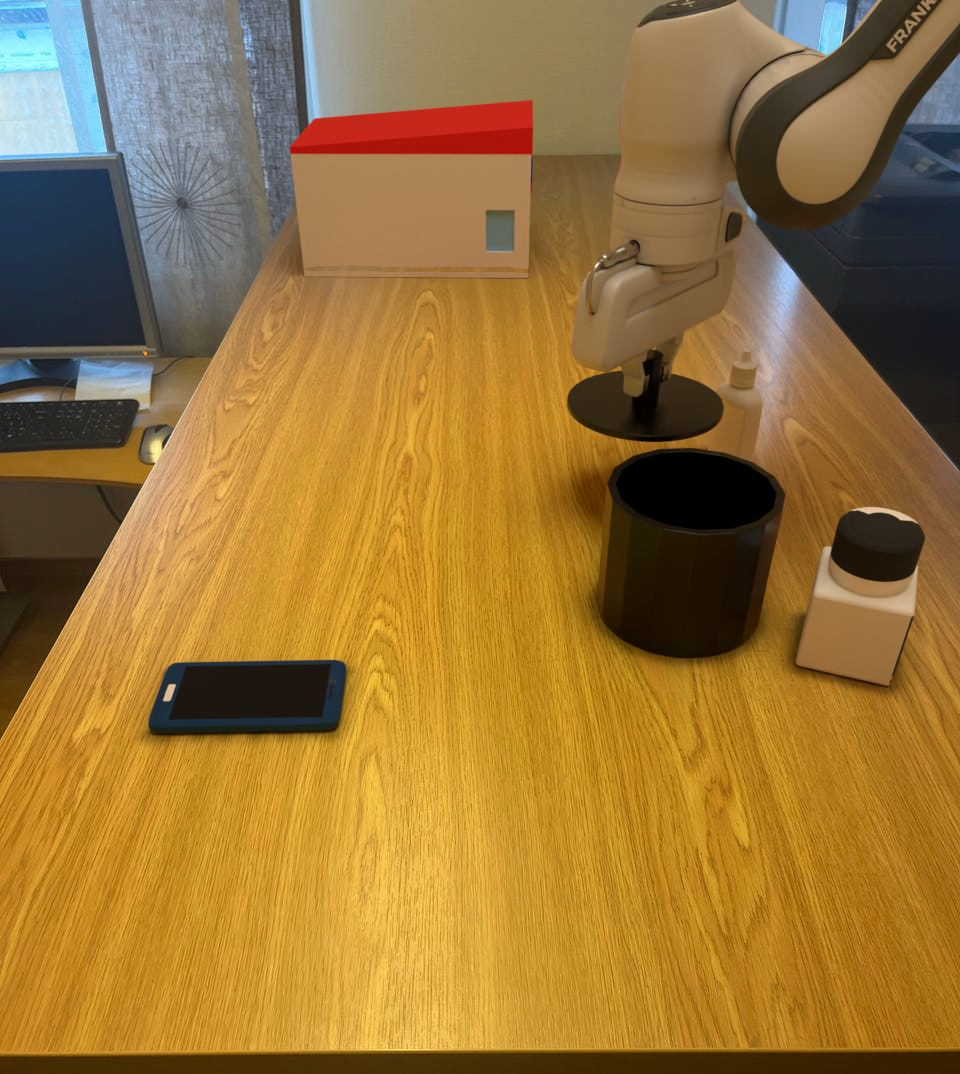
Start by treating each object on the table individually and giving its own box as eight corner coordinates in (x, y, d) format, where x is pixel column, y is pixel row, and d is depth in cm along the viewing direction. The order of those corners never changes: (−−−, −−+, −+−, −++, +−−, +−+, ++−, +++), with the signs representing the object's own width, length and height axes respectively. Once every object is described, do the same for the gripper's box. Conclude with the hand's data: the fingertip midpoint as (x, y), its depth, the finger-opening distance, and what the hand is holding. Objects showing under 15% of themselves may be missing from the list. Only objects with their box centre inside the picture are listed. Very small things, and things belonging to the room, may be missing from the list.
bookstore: (530, 278, 150) (534, 127, 137) (304, 276, 151) (287, 126, 138) (530, 238, 166) (534, 100, 153) (326, 237, 167) (312, 99, 154)
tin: (787, 602, 83) (815, 483, 76) (705, 680, 75) (728, 555, 68) (654, 547, 90) (668, 432, 83) (566, 612, 82) (573, 492, 75)
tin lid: (750, 409, 92) (761, 350, 88) (667, 464, 83) (675, 402, 80) (623, 369, 99) (628, 313, 96) (535, 416, 91) (537, 357, 87)
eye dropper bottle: (709, 472, 101) (727, 360, 94) (705, 447, 105) (722, 339, 98) (752, 474, 101) (773, 362, 93) (746, 449, 105) (766, 340, 98)
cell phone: (169, 669, 76) (168, 661, 76) (348, 666, 76) (347, 658, 76) (146, 734, 70) (144, 726, 70) (339, 730, 71) (338, 723, 70)
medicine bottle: (890, 688, 74) (935, 556, 67) (794, 666, 76) (827, 536, 69) (895, 635, 79) (937, 506, 72) (805, 615, 81) (837, 489, 74)
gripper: (624, 267, 73) (609, 435, 82) (757, 210, 85) (732, 362, 94) (557, 250, 77) (550, 414, 85) (694, 198, 89) (676, 346, 97)
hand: (647, 386), depth 90 cm, fingers closed on tin lid, 2 cm apart
